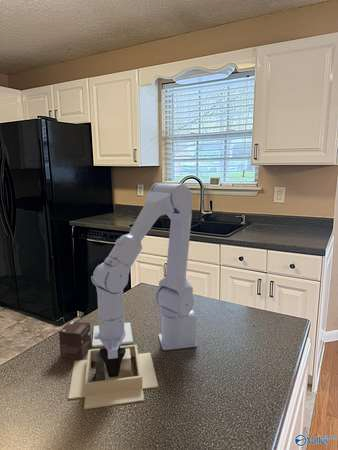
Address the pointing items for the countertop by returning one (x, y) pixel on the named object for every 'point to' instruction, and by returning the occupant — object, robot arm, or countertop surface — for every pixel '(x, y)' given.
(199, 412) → the countertop surface
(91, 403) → the carton
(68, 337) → the box
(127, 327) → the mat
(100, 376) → the block
